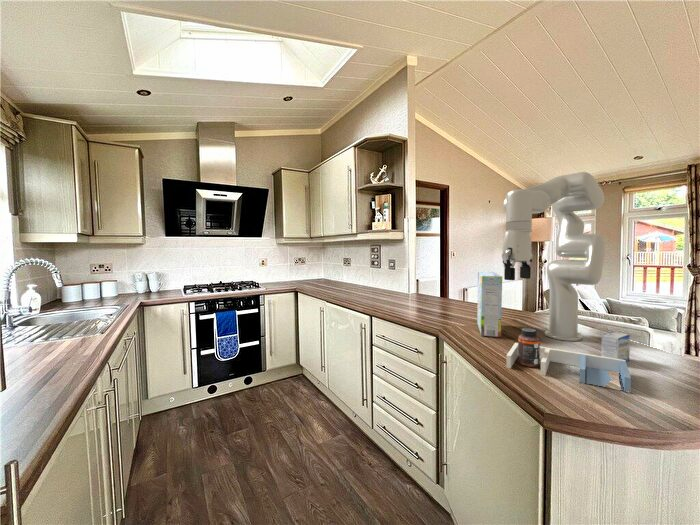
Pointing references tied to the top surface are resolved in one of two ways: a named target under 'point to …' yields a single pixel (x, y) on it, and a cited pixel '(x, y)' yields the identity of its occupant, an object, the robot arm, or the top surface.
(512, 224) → the robot arm
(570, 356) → the organizer
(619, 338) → the medicine box
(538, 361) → the supplement bottle
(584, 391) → the top surface
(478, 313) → the snack box
